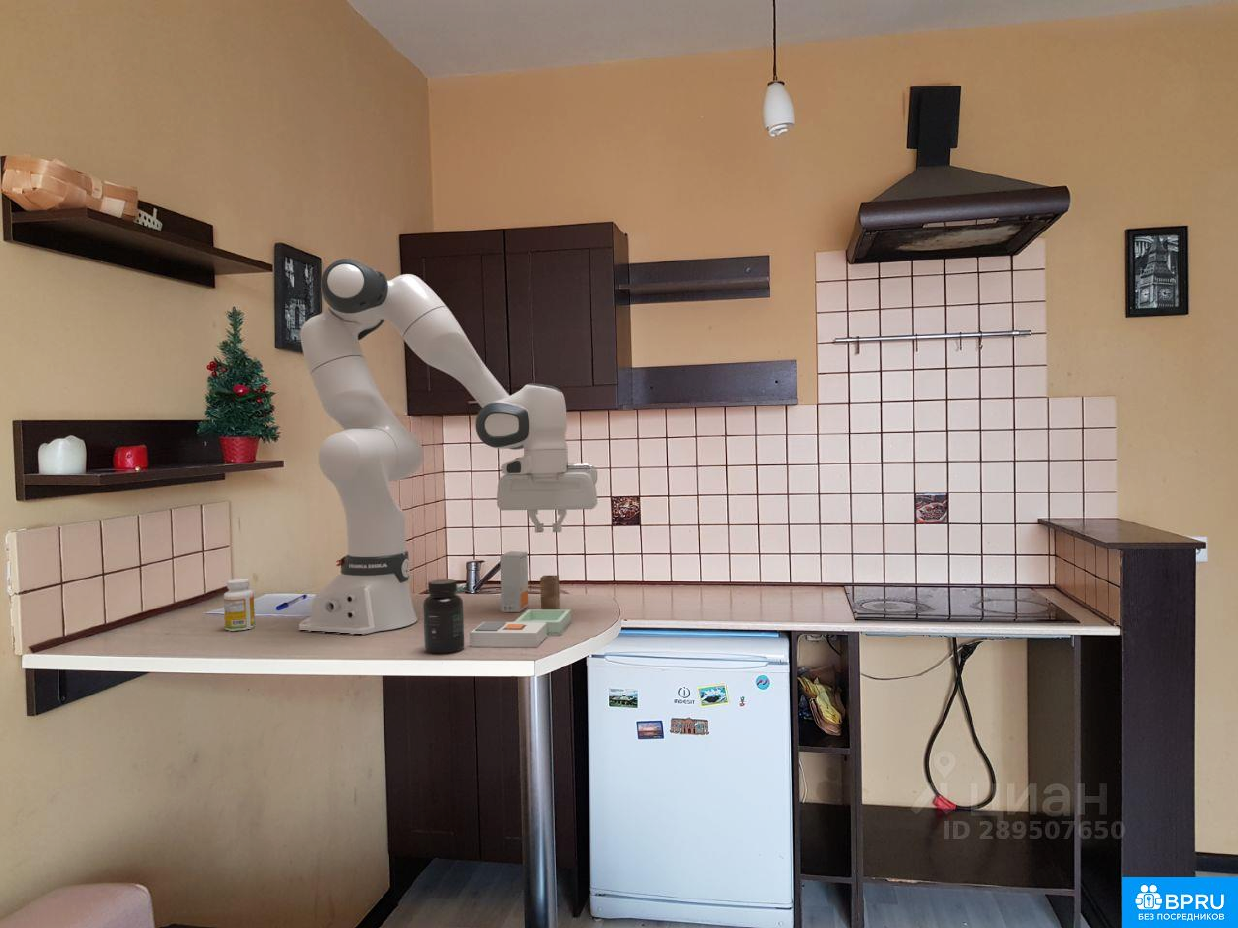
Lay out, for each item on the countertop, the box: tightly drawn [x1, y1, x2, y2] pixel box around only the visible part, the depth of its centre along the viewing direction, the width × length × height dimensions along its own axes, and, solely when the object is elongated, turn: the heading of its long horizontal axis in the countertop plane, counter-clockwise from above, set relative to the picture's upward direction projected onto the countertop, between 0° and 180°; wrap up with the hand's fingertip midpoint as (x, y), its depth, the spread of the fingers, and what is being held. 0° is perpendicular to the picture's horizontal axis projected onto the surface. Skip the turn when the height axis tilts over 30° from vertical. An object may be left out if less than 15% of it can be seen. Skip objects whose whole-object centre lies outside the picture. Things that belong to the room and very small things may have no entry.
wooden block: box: [539, 575, 561, 609], centre depth 167 cm, size 3×3×8 cm
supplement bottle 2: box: [422, 578, 465, 655], centre depth 143 cm, size 7×7×12 cm
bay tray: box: [513, 608, 572, 637], centre depth 157 cm, size 9×11×2 cm
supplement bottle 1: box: [223, 578, 256, 632], centre depth 163 cm, size 5×5×10 cm
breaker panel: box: [469, 621, 548, 648], centre depth 148 cm, size 12×8×3 cm, turn 82°
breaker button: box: [504, 624, 525, 630], centre depth 148 cm, size 3×3×2 cm
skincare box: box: [500, 550, 529, 613], centre depth 174 cm, size 6×4×12 cm
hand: (548, 532), depth 167 cm, fingers open, 2 cm apart
